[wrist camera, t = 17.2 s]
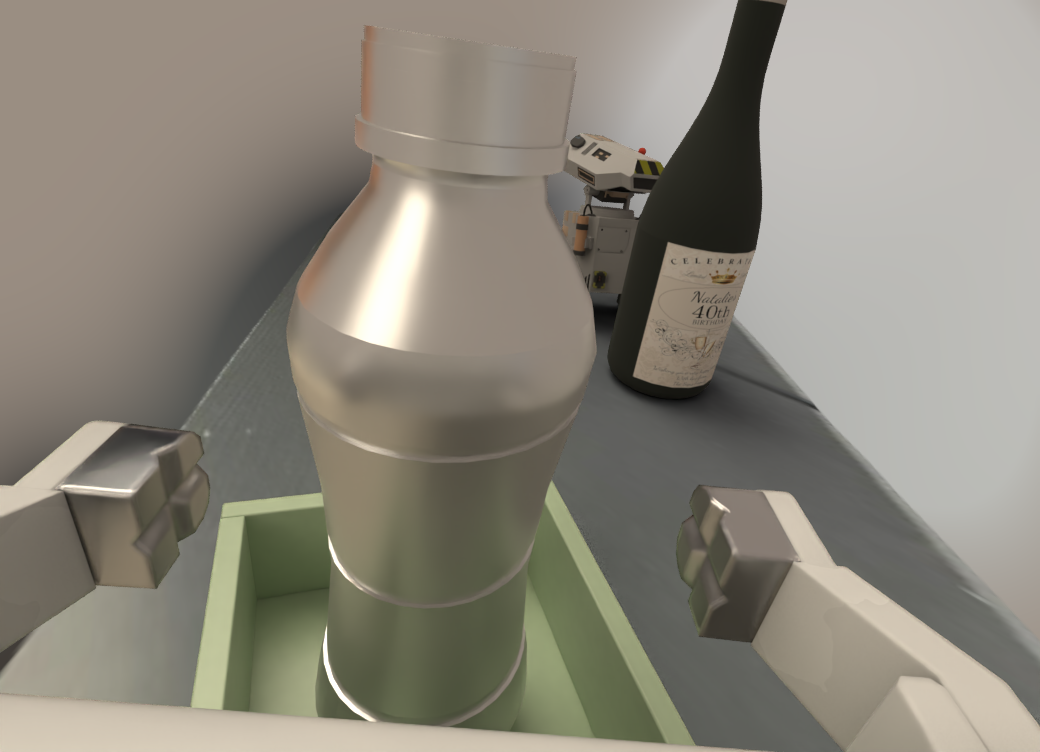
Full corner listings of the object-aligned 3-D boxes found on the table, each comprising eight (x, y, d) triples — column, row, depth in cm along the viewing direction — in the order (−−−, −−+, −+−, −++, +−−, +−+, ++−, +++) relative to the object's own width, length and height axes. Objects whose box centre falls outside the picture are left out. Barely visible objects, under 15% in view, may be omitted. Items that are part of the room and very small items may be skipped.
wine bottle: (728, 401, 43) (914, -109, 29) (637, 410, 40) (791, -151, 26) (669, 350, 50) (797, -87, 35) (587, 355, 47) (688, -118, 32)
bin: (680, 910, 17) (738, 821, 14) (184, 1116, 12) (136, 1044, 10) (529, 554, 28) (546, 467, 25) (238, 600, 23) (222, 502, 21)
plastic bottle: (550, 691, 21) (710, 77, 11) (434, 888, 16) (545, 52, 6) (411, 602, 23) (443, 36, 14) (271, 746, 18) (159, -6, 8)
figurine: (608, 285, 62) (640, 137, 55) (649, 332, 53) (694, 160, 45) (526, 281, 60) (548, 126, 53) (553, 329, 50) (585, 148, 43)
